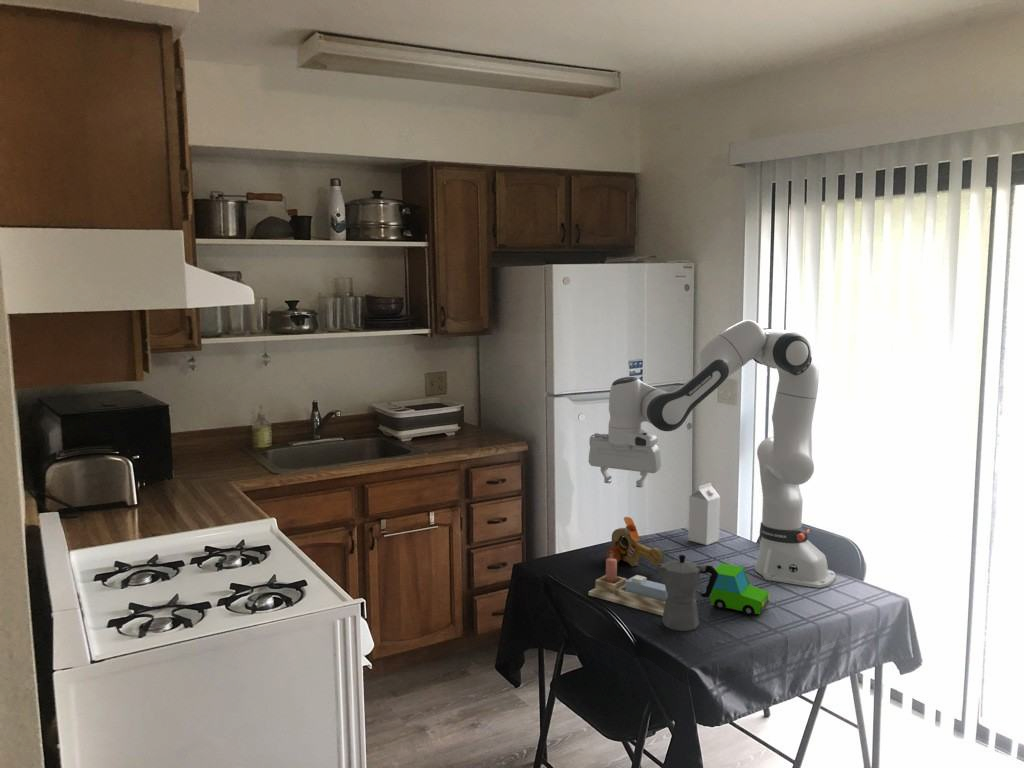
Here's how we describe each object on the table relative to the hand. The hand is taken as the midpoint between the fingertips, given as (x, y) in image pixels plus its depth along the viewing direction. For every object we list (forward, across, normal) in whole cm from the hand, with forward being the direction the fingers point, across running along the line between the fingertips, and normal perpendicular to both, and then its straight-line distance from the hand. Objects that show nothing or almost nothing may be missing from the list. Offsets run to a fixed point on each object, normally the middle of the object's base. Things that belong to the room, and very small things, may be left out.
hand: (623, 484), depth 235 cm
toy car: (+29, +33, -1) cm, 44 cm away
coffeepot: (+29, +24, -17) cm, 41 cm away
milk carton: (+29, +10, +49) cm, 58 cm away
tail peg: (+28, -1, -6) cm, 29 cm away
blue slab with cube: (+28, +11, -8) cm, 31 cm away
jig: (+29, +7, -7) cm, 31 cm away
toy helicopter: (+29, -2, +16) cm, 33 cm away
